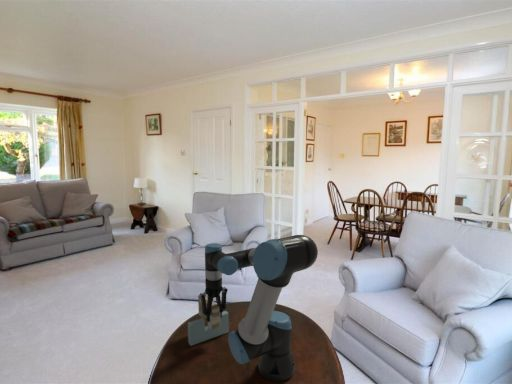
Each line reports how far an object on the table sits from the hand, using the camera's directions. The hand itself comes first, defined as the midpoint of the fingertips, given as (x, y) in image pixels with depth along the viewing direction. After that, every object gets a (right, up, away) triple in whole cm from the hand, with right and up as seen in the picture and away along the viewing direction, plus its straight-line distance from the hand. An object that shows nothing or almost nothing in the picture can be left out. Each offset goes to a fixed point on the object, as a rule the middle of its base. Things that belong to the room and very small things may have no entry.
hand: (214, 325), depth 140 cm
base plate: (-3, -8, +6) cm, 11 cm away
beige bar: (-3, 0, +5) cm, 6 cm away
